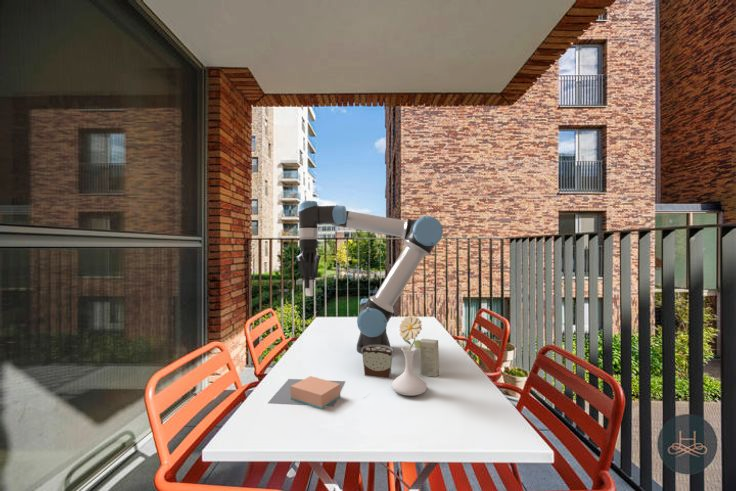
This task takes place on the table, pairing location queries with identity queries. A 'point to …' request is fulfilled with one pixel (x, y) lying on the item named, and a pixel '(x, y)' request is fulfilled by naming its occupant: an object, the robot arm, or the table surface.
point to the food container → (377, 360)
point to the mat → (285, 393)
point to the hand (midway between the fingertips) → (309, 295)
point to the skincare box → (429, 357)
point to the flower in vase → (409, 360)
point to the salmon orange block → (315, 392)
